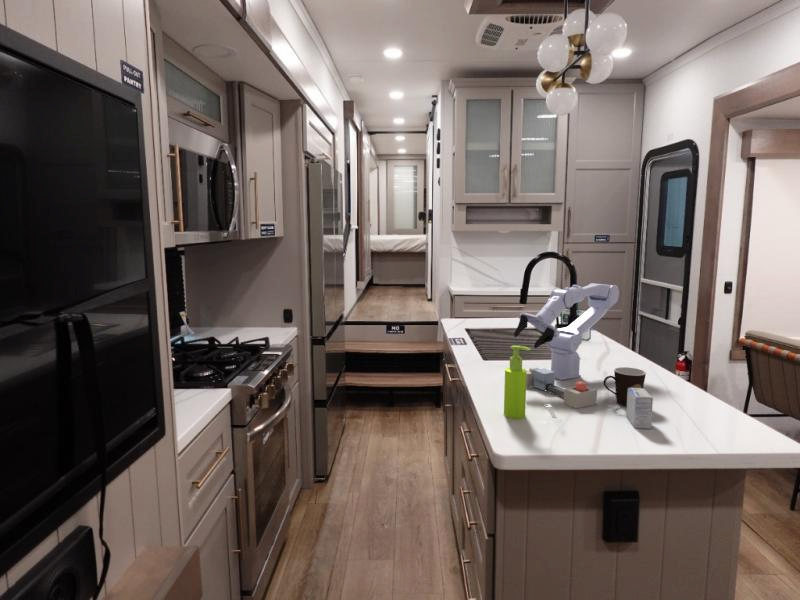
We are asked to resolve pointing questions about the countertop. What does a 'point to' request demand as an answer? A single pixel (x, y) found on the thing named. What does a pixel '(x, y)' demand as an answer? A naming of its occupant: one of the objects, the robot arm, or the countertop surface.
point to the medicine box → (639, 408)
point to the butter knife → (551, 411)
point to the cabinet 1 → (530, 376)
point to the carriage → (543, 378)
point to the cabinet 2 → (580, 397)
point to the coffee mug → (626, 382)
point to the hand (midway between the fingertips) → (525, 340)
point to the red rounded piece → (580, 386)
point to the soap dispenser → (515, 386)
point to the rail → (555, 390)
